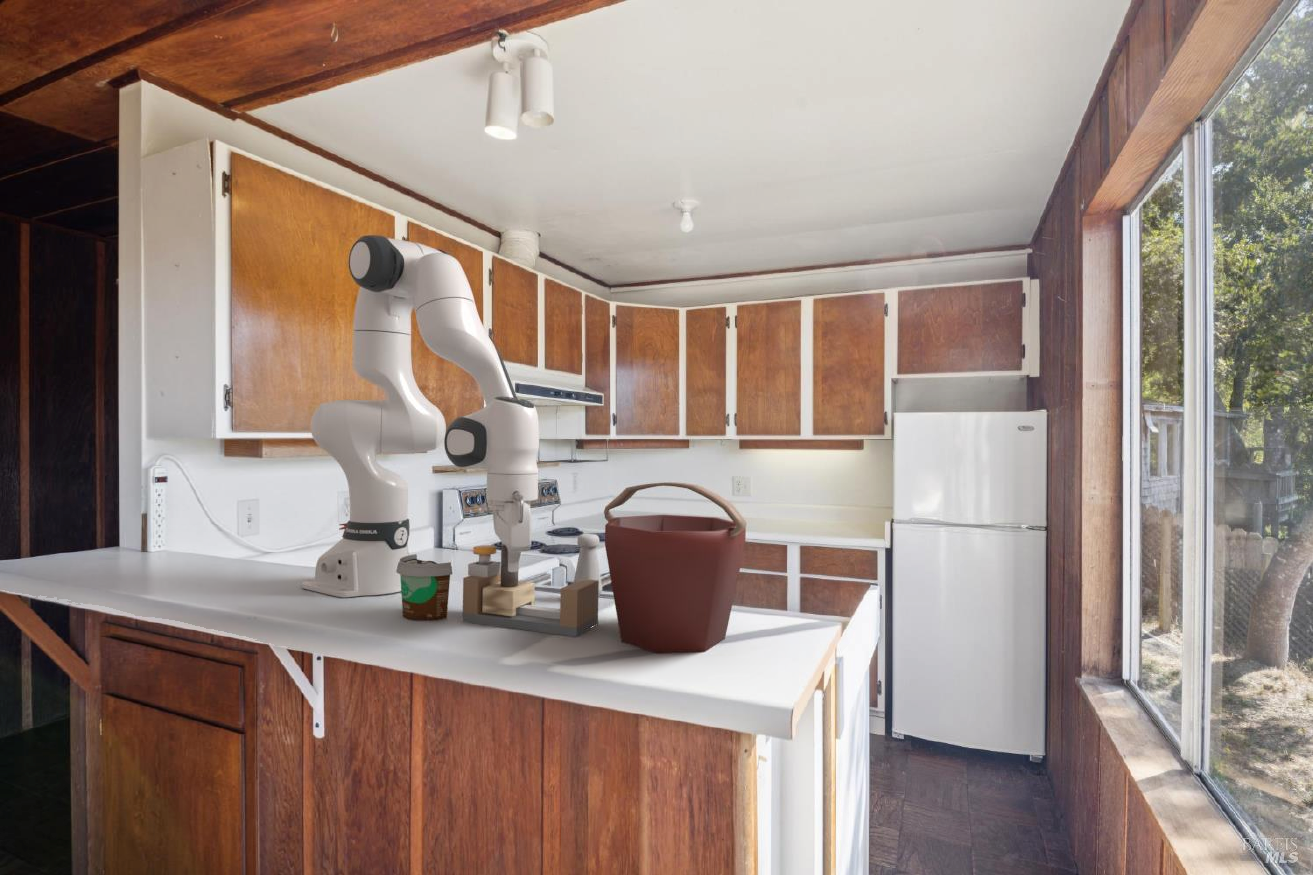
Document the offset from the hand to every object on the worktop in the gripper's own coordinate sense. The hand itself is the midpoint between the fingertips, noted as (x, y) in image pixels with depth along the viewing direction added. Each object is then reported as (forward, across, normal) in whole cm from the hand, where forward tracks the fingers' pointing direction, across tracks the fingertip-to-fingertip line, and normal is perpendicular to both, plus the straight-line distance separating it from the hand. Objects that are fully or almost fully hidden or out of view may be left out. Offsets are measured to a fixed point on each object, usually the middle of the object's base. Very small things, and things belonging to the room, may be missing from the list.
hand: (510, 568), depth 114 cm
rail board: (+9, -3, -3) cm, 10 cm away
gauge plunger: (0, +3, +4) cm, 5 cm away
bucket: (+9, -17, -24) cm, 31 cm away
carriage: (+7, 0, 0) cm, 7 cm away
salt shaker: (+9, +9, -16) cm, 21 cm away
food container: (+9, +6, +15) cm, 19 cm away
